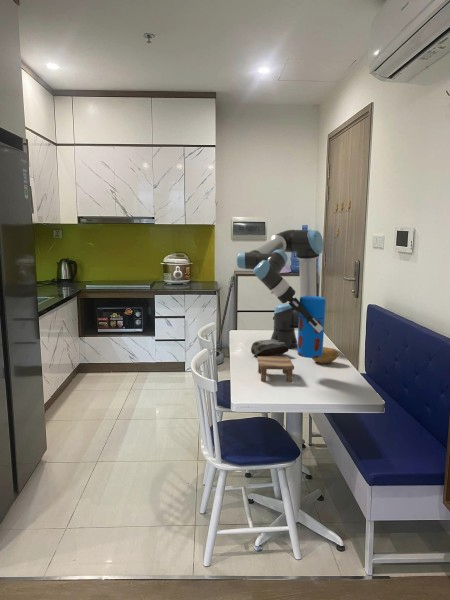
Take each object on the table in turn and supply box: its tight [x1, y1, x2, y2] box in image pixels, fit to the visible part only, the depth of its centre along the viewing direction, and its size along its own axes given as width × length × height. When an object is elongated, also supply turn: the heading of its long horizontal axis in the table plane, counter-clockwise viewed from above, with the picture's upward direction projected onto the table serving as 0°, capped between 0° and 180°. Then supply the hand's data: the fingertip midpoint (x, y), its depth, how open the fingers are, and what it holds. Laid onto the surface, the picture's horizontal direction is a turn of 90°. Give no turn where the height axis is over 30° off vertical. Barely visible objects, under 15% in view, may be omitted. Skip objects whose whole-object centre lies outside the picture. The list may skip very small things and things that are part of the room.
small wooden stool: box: [256, 356, 295, 383], centre depth 189 cm, size 14×14×7 cm
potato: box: [311, 346, 339, 365], centre depth 211 cm, size 10×14×8 cm
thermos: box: [297, 295, 326, 359], centre depth 187 cm, size 11×11×25 cm
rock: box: [250, 339, 290, 357], centre depth 220 cm, size 18×11×8 cm, turn 120°
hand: (317, 327), depth 187 cm, fingers closed on thermos, 11 cm apart
